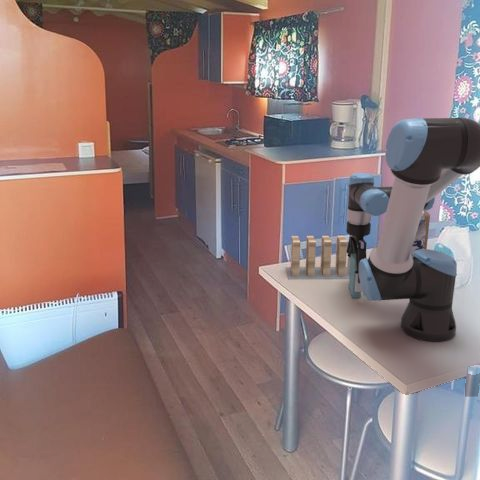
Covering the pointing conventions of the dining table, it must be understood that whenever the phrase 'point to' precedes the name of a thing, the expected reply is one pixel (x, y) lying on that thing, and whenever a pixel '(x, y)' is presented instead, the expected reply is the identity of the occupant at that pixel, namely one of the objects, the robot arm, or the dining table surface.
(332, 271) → the mat
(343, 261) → the tile
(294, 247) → the tile
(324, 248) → the tile
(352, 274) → the end tile
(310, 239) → the tile
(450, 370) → the dining table surface
